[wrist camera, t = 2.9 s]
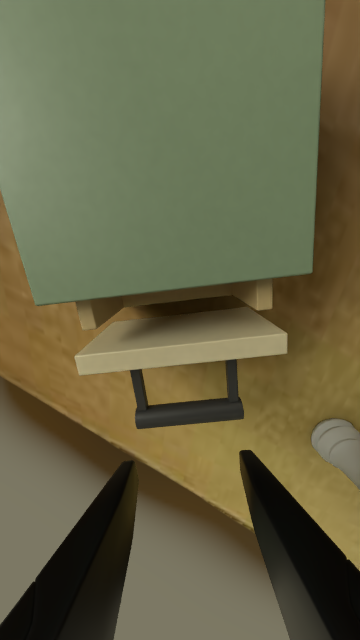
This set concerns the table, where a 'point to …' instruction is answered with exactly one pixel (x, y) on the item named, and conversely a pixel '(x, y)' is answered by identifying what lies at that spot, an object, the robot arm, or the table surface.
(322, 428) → the rook chess piece
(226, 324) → the drawer
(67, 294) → the cabinet
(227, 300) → the table surface
